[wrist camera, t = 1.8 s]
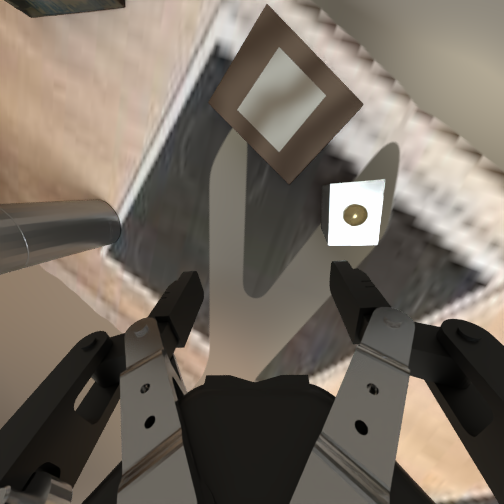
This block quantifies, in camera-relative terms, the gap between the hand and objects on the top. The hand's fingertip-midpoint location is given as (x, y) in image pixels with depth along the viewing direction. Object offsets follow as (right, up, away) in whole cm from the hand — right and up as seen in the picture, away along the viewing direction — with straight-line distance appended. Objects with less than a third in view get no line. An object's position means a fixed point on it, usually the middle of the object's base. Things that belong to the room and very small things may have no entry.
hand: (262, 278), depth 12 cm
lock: (+12, +8, +16) cm, 21 cm away
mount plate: (+3, +21, +14) cm, 26 cm away
